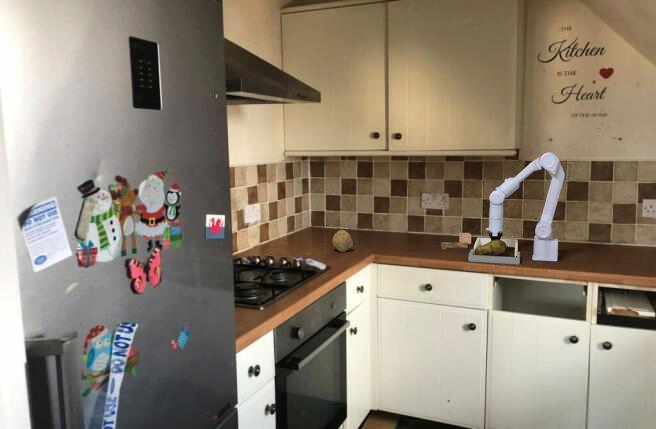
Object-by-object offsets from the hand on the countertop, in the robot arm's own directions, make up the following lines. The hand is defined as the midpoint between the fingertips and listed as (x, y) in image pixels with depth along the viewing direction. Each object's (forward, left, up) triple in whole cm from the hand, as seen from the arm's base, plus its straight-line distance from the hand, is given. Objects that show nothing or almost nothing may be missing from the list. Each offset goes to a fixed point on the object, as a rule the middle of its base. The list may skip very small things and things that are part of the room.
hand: (494, 249), depth 237 cm
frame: (0, +7, -3) cm, 8 cm away
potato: (+2, +5, -3) cm, 6 cm away
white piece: (0, -11, -3) cm, 12 cm away
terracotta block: (+15, -26, -3) cm, 30 cm away
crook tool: (+18, -12, -3) cm, 22 cm away
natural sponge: (+66, +10, -3) cm, 67 cm away
